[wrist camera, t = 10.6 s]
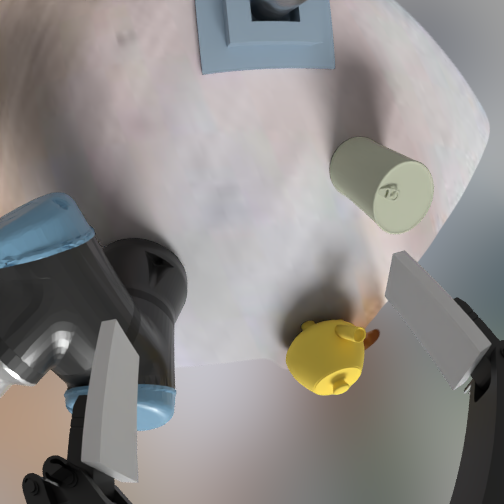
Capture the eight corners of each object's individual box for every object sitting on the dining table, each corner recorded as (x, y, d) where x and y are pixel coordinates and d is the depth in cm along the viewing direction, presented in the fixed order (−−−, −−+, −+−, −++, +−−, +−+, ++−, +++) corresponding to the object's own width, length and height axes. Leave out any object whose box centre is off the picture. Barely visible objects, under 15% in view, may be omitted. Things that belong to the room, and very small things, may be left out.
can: (339, 128, 35) (392, 150, 25) (391, 146, 37) (446, 173, 27) (321, 191, 39) (363, 232, 29) (372, 201, 42) (418, 241, 32)
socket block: (202, 74, 28) (203, 72, 25) (192, -37, 20) (192, -51, 16) (331, 69, 30) (348, 68, 26) (320, -35, 21) (335, -45, 17)
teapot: (299, 289, 48) (328, 352, 37) (372, 289, 52) (407, 340, 41) (273, 361, 59) (289, 417, 47) (336, 356, 62) (358, 404, 51)
